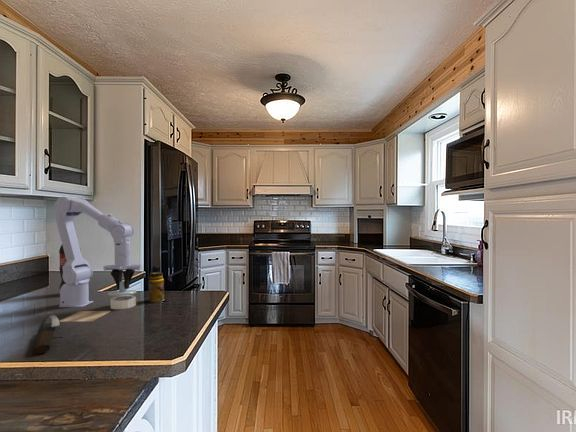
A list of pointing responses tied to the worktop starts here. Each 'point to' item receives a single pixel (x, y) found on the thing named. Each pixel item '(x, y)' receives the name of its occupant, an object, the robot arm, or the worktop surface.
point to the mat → (84, 316)
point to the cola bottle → (62, 264)
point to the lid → (122, 290)
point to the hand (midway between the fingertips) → (123, 288)
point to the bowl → (123, 302)
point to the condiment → (156, 287)
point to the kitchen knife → (46, 335)
